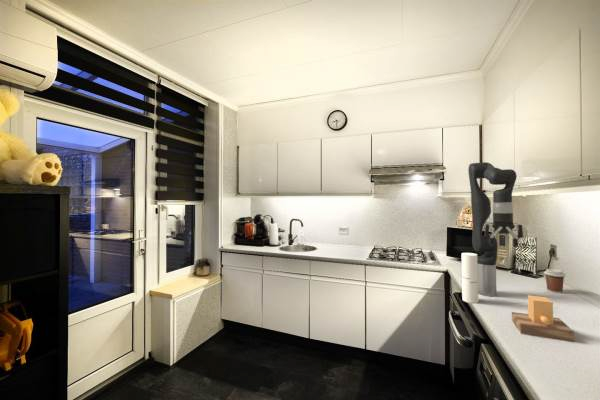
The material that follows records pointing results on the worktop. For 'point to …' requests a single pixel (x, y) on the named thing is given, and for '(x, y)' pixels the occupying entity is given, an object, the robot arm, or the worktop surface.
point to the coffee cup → (554, 280)
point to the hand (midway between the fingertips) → (503, 246)
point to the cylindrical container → (469, 278)
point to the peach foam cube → (540, 310)
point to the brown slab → (542, 328)
